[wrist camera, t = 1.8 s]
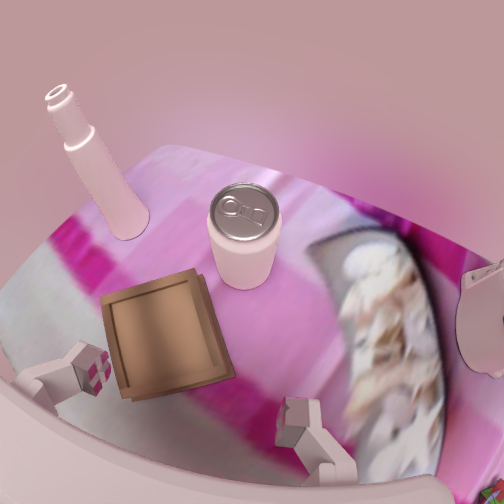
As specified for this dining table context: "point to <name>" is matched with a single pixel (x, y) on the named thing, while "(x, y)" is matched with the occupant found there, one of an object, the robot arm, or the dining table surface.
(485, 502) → the geometric puzzle
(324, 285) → the dining table surface
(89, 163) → the pink bottle
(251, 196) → the can
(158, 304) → the pedestal
